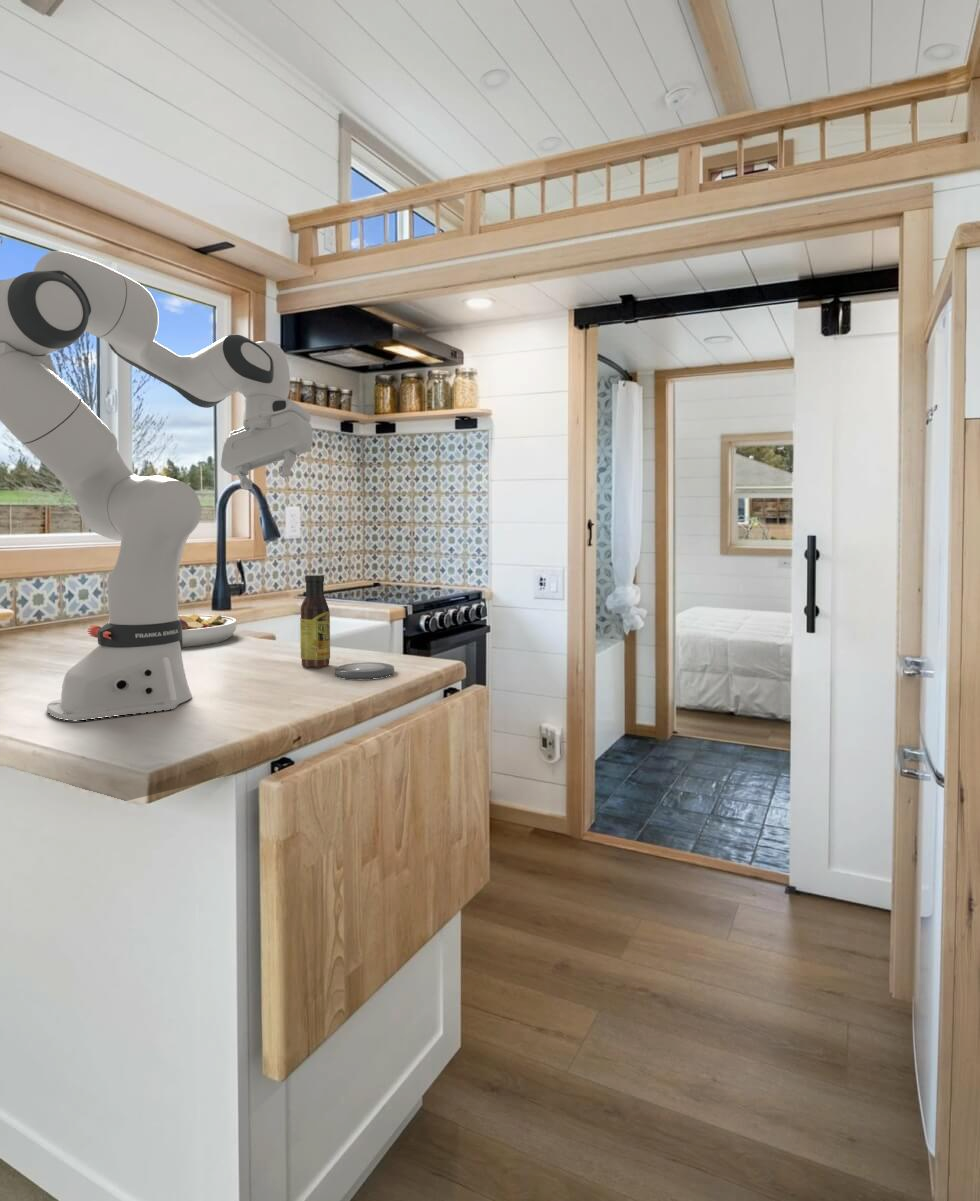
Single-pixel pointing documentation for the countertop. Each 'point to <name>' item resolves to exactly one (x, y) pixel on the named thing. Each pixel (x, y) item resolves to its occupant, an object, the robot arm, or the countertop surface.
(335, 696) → the countertop surface
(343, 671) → the slate trivet
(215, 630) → the bowl
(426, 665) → the countertop surface
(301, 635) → the sauce bottle
